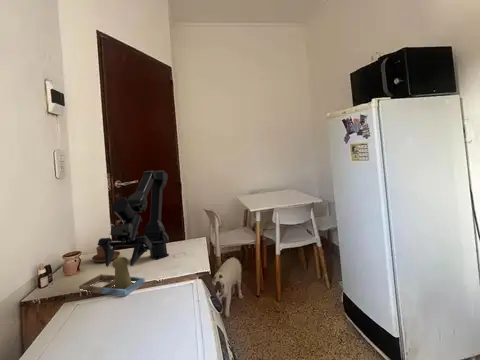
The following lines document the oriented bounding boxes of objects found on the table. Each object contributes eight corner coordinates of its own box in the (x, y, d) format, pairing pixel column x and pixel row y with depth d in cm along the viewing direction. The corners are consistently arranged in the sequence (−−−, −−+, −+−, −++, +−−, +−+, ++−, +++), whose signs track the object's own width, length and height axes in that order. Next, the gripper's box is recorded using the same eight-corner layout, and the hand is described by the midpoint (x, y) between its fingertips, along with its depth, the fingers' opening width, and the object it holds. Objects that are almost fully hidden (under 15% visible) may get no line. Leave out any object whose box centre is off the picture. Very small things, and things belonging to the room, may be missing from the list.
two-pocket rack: (79, 291, 121) (78, 285, 121) (101, 279, 131) (101, 274, 131) (125, 296, 114) (124, 290, 113) (145, 283, 123) (144, 277, 123)
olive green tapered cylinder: (130, 290, 118) (126, 260, 117) (113, 292, 117) (108, 262, 116) (134, 283, 124) (130, 254, 123) (117, 285, 123) (113, 256, 122)
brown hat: (93, 258, 159) (91, 245, 158) (120, 253, 163) (119, 240, 162) (91, 266, 148) (89, 252, 147) (120, 260, 151) (118, 247, 151)
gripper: (96, 216, 123) (82, 256, 114) (144, 214, 120) (133, 255, 111) (111, 231, 132) (98, 270, 122) (156, 229, 129) (147, 268, 119)
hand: (118, 265), depth 118 cm, fingers open, 9 cm apart
